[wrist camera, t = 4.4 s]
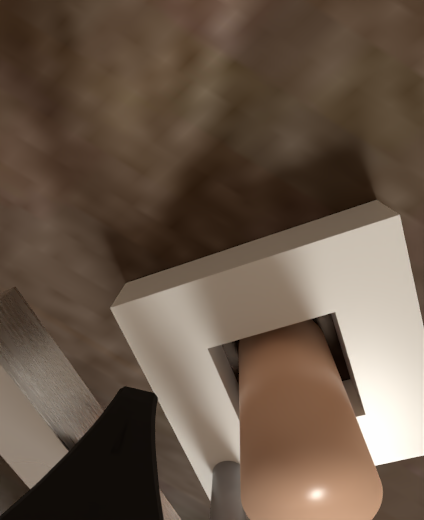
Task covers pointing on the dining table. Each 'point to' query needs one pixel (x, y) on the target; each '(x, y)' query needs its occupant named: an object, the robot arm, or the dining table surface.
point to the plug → (300, 432)
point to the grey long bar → (40, 396)
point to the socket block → (276, 316)
